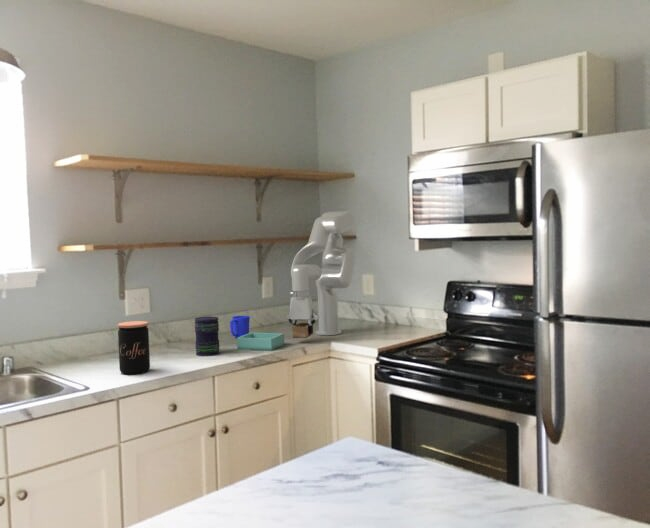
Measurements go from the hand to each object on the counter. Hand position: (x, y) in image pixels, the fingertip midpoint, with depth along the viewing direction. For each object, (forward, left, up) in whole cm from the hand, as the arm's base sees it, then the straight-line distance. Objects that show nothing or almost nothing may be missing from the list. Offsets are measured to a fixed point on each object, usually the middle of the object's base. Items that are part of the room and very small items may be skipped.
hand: (303, 333), depth 273 cm
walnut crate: (0, 0, -1) cm, 1 cm away
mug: (-4, -34, -4) cm, 35 cm away
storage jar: (+32, -30, -4) cm, 44 cm away
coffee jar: (+67, -40, -4) cm, 78 cm away
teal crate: (+14, -14, -4) cm, 20 cm away
